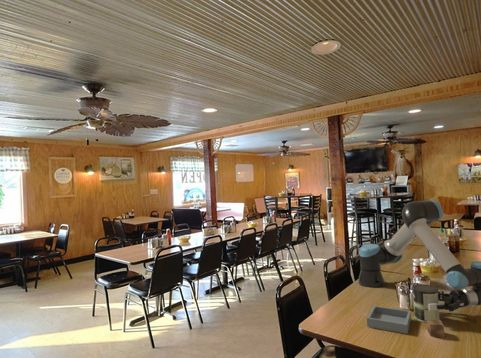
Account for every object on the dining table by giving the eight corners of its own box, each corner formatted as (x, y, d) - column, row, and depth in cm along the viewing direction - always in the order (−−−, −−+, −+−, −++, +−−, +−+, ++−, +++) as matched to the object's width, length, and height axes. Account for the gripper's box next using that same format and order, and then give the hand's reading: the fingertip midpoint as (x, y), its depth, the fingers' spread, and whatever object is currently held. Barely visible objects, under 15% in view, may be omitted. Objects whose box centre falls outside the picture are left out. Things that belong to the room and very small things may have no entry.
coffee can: (411, 320, 148) (410, 289, 149) (416, 312, 156) (415, 283, 157) (438, 325, 142) (436, 293, 142) (441, 317, 150) (439, 286, 150)
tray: (367, 326, 144) (366, 318, 144) (374, 313, 158) (373, 305, 158) (407, 334, 136) (407, 324, 136) (411, 319, 149) (410, 311, 149)
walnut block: (430, 336, 133) (429, 324, 133) (427, 331, 138) (426, 319, 138) (444, 337, 131) (443, 325, 131) (441, 332, 136) (440, 320, 136)
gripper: (485, 317, 138) (438, 321, 137) (444, 296, 163) (404, 300, 161) (484, 299, 138) (437, 303, 137) (443, 281, 163) (403, 285, 161)
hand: (419, 301), depth 149 cm, fingers open, 13 cm apart
